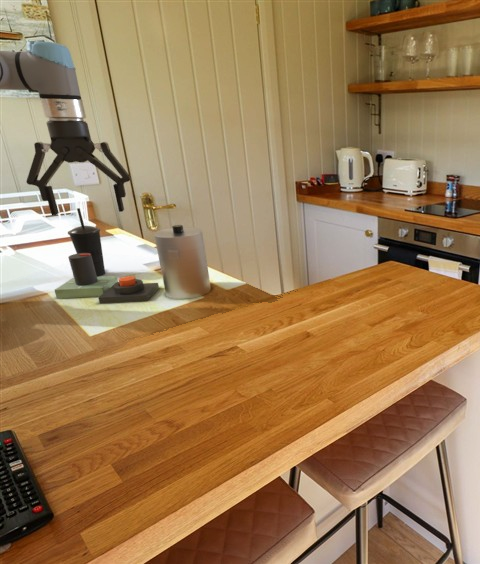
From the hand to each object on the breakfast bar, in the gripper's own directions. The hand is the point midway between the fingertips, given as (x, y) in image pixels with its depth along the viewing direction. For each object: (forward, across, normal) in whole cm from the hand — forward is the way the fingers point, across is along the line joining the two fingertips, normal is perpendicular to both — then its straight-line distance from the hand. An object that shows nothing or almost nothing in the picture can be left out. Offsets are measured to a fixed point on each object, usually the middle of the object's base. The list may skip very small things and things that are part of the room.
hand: (89, 212), depth 104 cm
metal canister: (+22, +19, -5) cm, 30 cm away
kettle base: (+22, +5, -3) cm, 23 cm away
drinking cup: (+22, -7, +20) cm, 31 cm away
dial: (+19, -5, +5) cm, 21 cm away
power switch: (+19, +5, -3) cm, 20 cm away
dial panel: (+22, -5, +5) cm, 23 cm away
